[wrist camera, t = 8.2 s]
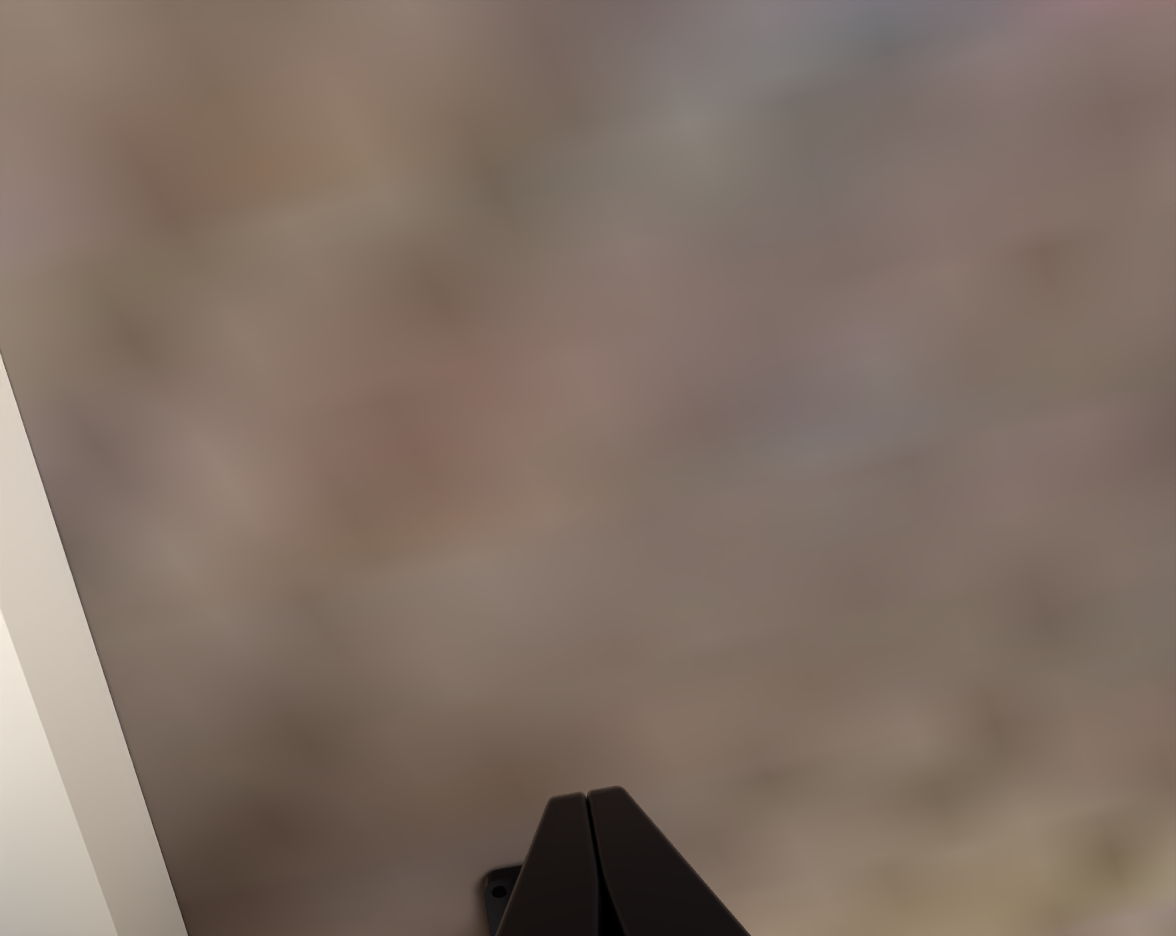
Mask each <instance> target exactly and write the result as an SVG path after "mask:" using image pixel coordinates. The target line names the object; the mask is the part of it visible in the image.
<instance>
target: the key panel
mask: <svg viewBox="0 0 1176 936" xmlns="http://www.w3.org/2000/svg"><path fill="white" fill-rule="evenodd" d="M0 936H188V934H187V931H186V928H185V925H184V922H183V918H182V915H181V912H180V909H179V906H178V903H177V900H176V897H175V894H174V891H173V887H172V884H171V881H170V878H169V875H168V872H167V869H166V866H165V863H164V860H163V856H162V853H161V850H160V847H159V844H158V841H157V838H156V835H155V832H154V829H153V825H152V822H151V819H150V816H149V813H148V810H147V807H146V804H145V801H144V798H143V794H142V791H141V788H140V785H139V782H138V779H137V776H136V773H135V770H134V767H133V763H132V760H131V757H130V754H129V751H128V748H127V745H126V742H125V739H124V736H123V732H122V729H121V726H120V723H119V720H118V717H117V714H116V711H115V708H114V705H113V701H112V698H111V695H110V692H109V689H108V686H107V683H106V680H105V677H104V674H103V670H102V667H101V664H100V661H99V658H98V655H97V652H96V649H95V646H94V643H93V639H92V636H91V633H90V630H89V627H88V624H87V621H86V618H85V615H84V612H83V608H82V605H81V602H80V599H79V596H78V593H77V590H76V587H75V584H74V581H73V577H72V574H71V571H70V568H69V565H68V562H67V559H66V556H65V553H64V550H63V546H62V543H61V540H60V537H59V534H58V531H57V528H56V525H55V522H54V519H53V515H52V512H51V509H50V506H49V503H48V500H47V497H46V494H45V491H44V488H43V484H42V481H41V478H40V475H39V472H38V469H37V466H36V463H35V460H34V457H33V453H32V450H31V447H30V444H29V441H28V438H27V435H26V432H25V429H24V426H23V422H22V419H21V416H20V413H19V410H18V407H17V404H16V401H15V398H14V395H13V391H12V388H11V385H10V382H9V379H8V376H7V373H6V370H5V367H4V364H3V360H2V357H1V354H0Z"/></svg>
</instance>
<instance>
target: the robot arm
mask: <svg viewBox="0 0 1176 936" xmlns="http://www.w3.org/2000/svg"><path fill="white" fill-rule="evenodd" d="M497 886H503V887H501V888H497ZM484 895H485V901H486V907H487V914H488V920H489V926H490V932H491V936H751V935H750V934H749V933H748V932H747V931H746V930H745V928H744V927H743V926H742V925H741V924H740V923H739V921H738V920H737V919H736V918H735V917H734V916H733V914H732V913H731V912H730V911H729V910H728V909H727V907H726V906H725V905H724V904H723V903H722V902H721V900H720V899H719V898H718V897H717V896H716V895H715V894H714V892H713V891H712V890H711V889H710V888H709V887H708V885H707V884H706V883H705V882H704V881H703V880H702V878H701V877H700V876H699V875H698V874H697V873H696V871H695V870H694V869H693V868H692V867H691V866H690V864H689V863H688V862H687V861H686V860H685V859H684V858H683V856H682V855H681V854H680V853H679V852H678V851H677V849H676V848H675V847H674V846H673V845H672V844H671V842H670V841H669V840H668V839H667V838H666V837H665V835H664V834H663V833H662V832H661V831H660V830H659V828H658V827H657V826H656V825H655V824H654V823H653V822H652V820H651V819H650V818H649V817H648V816H647V815H646V813H645V812H644V811H643V810H642V809H641V808H640V806H639V805H638V804H637V803H636V802H635V801H634V799H633V798H632V797H631V796H630V795H629V794H628V793H627V791H626V790H625V789H624V788H622V787H620V786H613V787H607V788H600V789H594V790H591V791H589V792H588V794H587V799H586V796H585V795H584V793H582V792H576V793H570V794H564V795H558V796H553V797H551V798H550V799H549V801H548V802H547V805H546V807H545V810H544V812H543V815H542V817H541V820H540V822H539V825H538V828H537V830H536V833H535V835H534V838H533V840H532V843H531V846H530V848H529V851H528V853H527V856H526V858H525V861H524V864H523V866H517V867H511V868H506V869H500V870H496V871H493V872H491V873H490V874H489V875H488V876H487V877H486V879H485V893H484Z"/></svg>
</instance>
